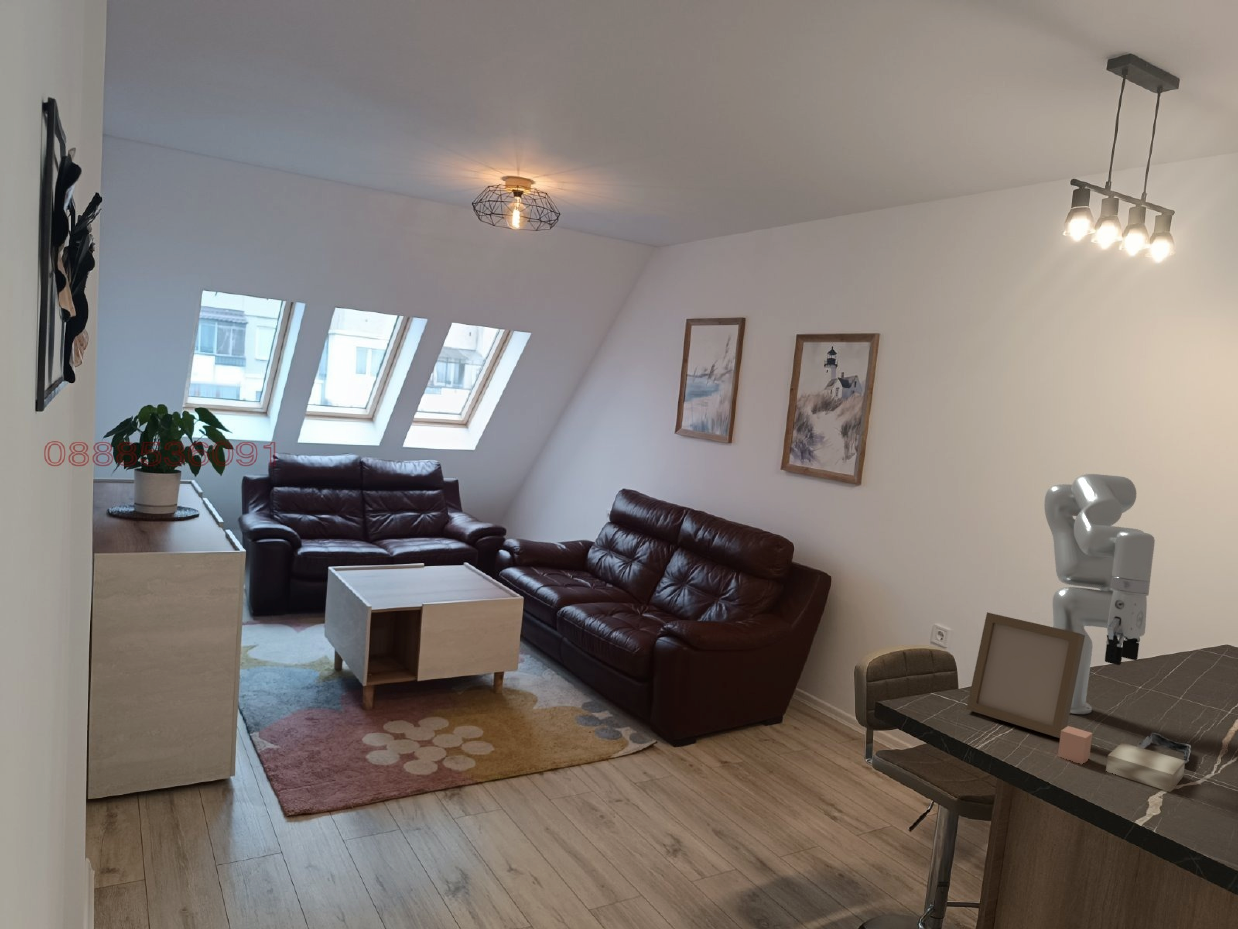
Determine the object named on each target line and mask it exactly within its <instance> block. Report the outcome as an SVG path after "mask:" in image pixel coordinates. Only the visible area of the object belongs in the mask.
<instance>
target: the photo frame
mask: <svg viewBox="0 0 1238 929" xmlns="http://www.w3.org/2000/svg"><path fill="white" fill-rule="evenodd" d="M1084 639H1085V635H1083V634H1080V633H1076V632H1072V631H1067V630H1063V629H1058V628H1054V627H1053V626H1049V625H1045V624H1040V623H1037V622H1031V621H1027V620H1022V619H1017V618H1014V617H1010V616H1009V617H1008V616H1005V615H1000V614H996V613H991V612H986V615H985V620H984V624H983V629H982V634H981V638H980V645H979V647H978V648H979V649H978V651H977V652H978V653H977V657H976V663H975V668H974V672H973V677H972V682H971V686H970V691H969V696H968V700H967V706H966V710H968V711H970V712H974V713H977V714H980V715H984V716H987V717H990V718H992V719H993V718H994V719H996V720H1000V721H1002V722H1006V723H1008V724H1009V723H1010V724H1013V725H1016V726H1019V727H1022V728H1025V729H1029V730H1033V731H1035V732H1039V733H1042V734H1045V735H1049V736H1051V737H1054V738H1057V739H1060V735H1061V730H1063V729H1064V728H1066V727H1067V726H1069V725H1068V724H1069V723H1068V722H1069V719H1070V715H1071V713H1070V710H1071V704H1072V699H1073V694H1074V689H1075V684H1076V679H1077V674H1078V669H1079V664H1080V659H1081V654H1082V649H1083V644H1084Z"/></svg>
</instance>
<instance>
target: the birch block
mask: <svg viewBox="0 0 1238 929" xmlns="http://www.w3.org/2000/svg"><path fill="white" fill-rule="evenodd" d="M1185 764H1186V763H1185V760H1184V759H1181V758H1177V757H1174V756H1170V755H1168V754H1163V753H1161V752H1157V751H1153V750H1151V749H1147V748H1144V749H1143V748H1140V747H1138V745H1137V746H1136V745H1132V744H1129V743H1127V742H1121V743H1120V744H1119V745H1117V747H1116V748H1114V749H1113V750H1112V751H1111V752H1110V753H1109V754H1107V760H1106V768H1105V772H1106V771H1107V772H1106V773H1109V774H1112V773H1113V775H1115V774H1116V775H1115V776H1119V777H1121V778H1125V779H1128V780H1132V781H1134V782H1138V783H1141V784H1144V785H1147V786H1151V787H1153V788H1157V789H1160V790H1163V791H1166V792H1168V793H1169V792H1170V793H1171V792H1172V791H1173V790H1174V789H1175V787H1176V786H1177V785H1178V784H1179V782H1180V781H1181V780H1182V779H1183V778H1184V774H1185V773H1184V771H1185Z"/></svg>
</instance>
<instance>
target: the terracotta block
mask: <svg viewBox="0 0 1238 929" xmlns="http://www.w3.org/2000/svg"><path fill="white" fill-rule="evenodd" d="M1092 738H1093V732H1090V731H1088V730H1087V731H1086V730H1084V729H1080V728H1077V727H1073V726H1069V725H1067V727H1066V728H1064V729H1063V730H1061V735H1060V738H1059V743H1058V744H1059V745H1058V750H1057V752H1058V753H1057V757H1058V756H1059V757H1058V758H1060V757H1062V758H1061V759H1063V758H1064V759H1063V760H1066V759H1067V760H1066V761H1069V760H1071V761H1070V762H1072V761H1073V762H1074V763H1076V764H1078V763H1080V764H1079V765H1082V764H1083V763H1084V764H1085V763H1086V762H1087V761H1089V760H1090V755H1091V747H1092V740H1093V739H1092ZM1088 759H1089V760H1088ZM1084 764H1083V765H1084Z"/></svg>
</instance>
